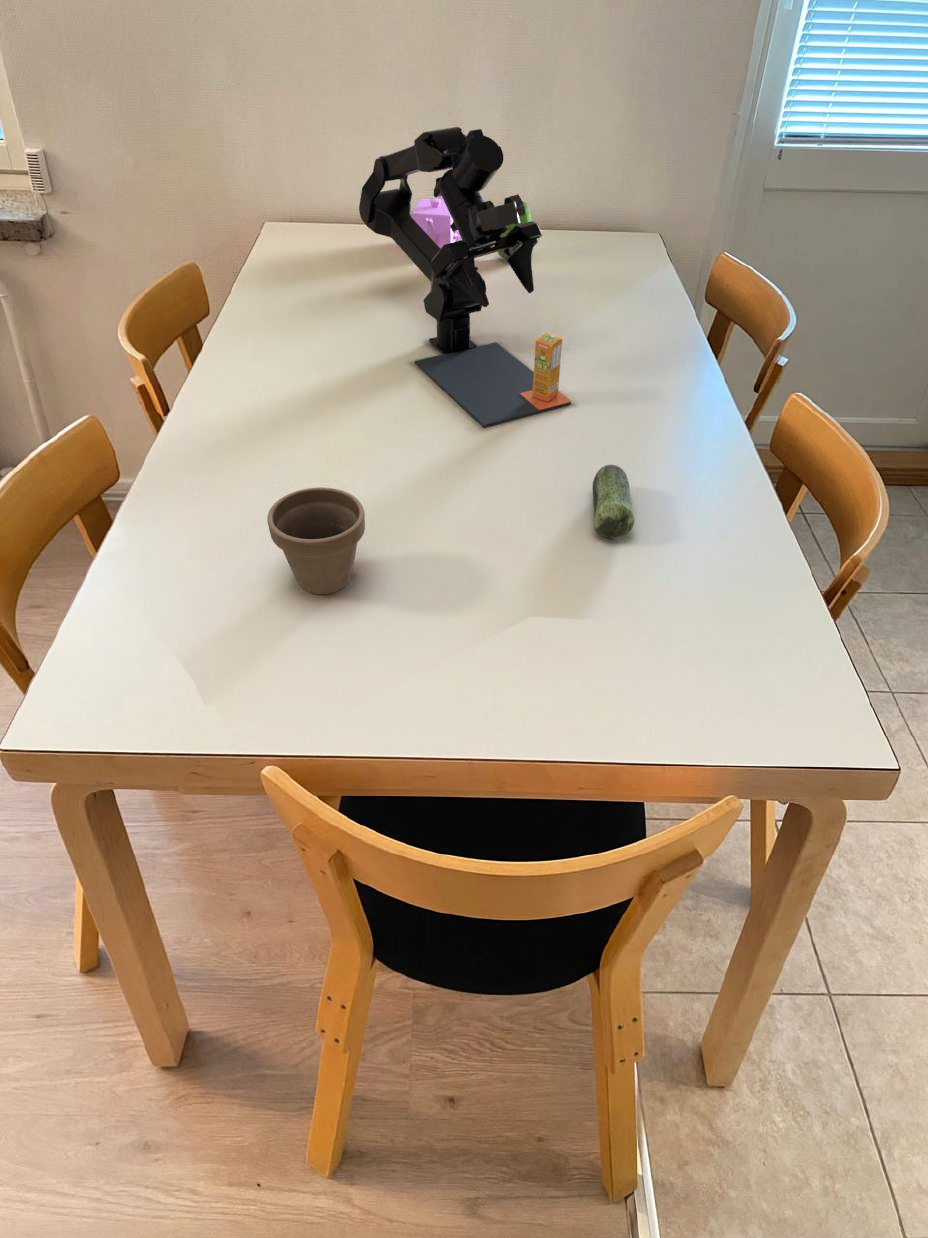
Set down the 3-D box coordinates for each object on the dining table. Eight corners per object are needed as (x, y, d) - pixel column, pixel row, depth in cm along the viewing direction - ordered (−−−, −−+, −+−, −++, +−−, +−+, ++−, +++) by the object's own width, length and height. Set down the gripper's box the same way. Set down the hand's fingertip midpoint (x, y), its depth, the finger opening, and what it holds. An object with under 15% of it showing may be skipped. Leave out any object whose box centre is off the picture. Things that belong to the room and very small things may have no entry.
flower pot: (259, 572, 121) (248, 505, 114) (337, 540, 126) (331, 474, 120) (306, 621, 114) (298, 553, 107) (386, 585, 119) (383, 518, 113)
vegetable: (632, 546, 126) (637, 514, 123) (592, 544, 126) (597, 512, 123) (625, 487, 137) (630, 456, 133) (589, 485, 137) (592, 454, 134)
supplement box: (530, 397, 155) (533, 338, 148) (542, 389, 157) (546, 331, 150) (547, 404, 153) (551, 344, 147) (559, 395, 155) (564, 337, 149)
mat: (414, 363, 164) (414, 360, 164) (495, 344, 170) (496, 341, 170) (483, 427, 148) (483, 424, 148) (570, 404, 154) (571, 401, 154)
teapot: (410, 230, 212) (409, 183, 205) (469, 234, 210) (470, 187, 204) (393, 260, 198) (391, 211, 192) (456, 265, 197) (457, 216, 190)
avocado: (532, 266, 197) (536, 205, 189) (493, 265, 197) (495, 205, 189) (530, 251, 203) (534, 192, 195) (493, 251, 203) (495, 191, 195)
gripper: (441, 189, 140) (487, 289, 140) (538, 166, 148) (581, 260, 149) (411, 229, 149) (454, 322, 150) (503, 206, 158) (543, 293, 159)
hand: (509, 298), depth 152 cm, fingers open, 9 cm apart
